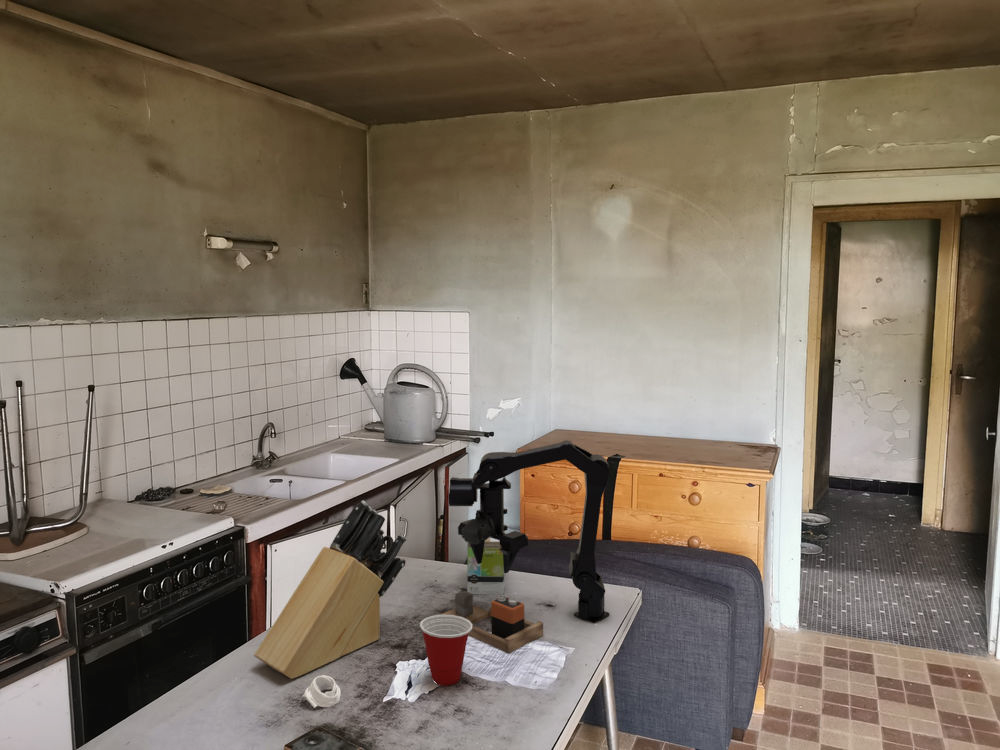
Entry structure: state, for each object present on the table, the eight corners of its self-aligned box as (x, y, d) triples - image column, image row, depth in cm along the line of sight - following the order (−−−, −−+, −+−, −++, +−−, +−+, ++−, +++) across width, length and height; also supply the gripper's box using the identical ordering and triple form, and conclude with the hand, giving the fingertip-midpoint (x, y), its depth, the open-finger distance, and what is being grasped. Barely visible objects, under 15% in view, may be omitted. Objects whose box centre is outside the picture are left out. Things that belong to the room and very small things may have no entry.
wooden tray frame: (470, 605, 191) (469, 582, 191) (543, 635, 175) (543, 610, 174) (435, 620, 183) (435, 596, 182) (508, 653, 166) (508, 627, 166)
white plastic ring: (325, 691, 154) (323, 667, 154) (350, 696, 151) (349, 672, 150) (296, 707, 147) (294, 682, 147) (321, 713, 144) (320, 688, 144)
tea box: (505, 595, 198) (504, 540, 196) (466, 595, 198) (465, 540, 197) (505, 573, 213) (505, 522, 211) (469, 573, 213) (469, 522, 211)
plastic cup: (483, 681, 155) (482, 625, 153) (437, 698, 149) (436, 640, 147) (456, 660, 164) (455, 607, 162) (411, 675, 158) (410, 620, 156)
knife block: (412, 626, 180) (409, 500, 177) (283, 686, 154) (277, 539, 150) (381, 613, 188) (377, 492, 184) (253, 668, 161) (246, 527, 157)
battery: (512, 648, 169) (512, 605, 168) (490, 639, 174) (490, 597, 172) (525, 641, 172) (525, 599, 171) (503, 632, 177) (503, 591, 176)
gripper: (441, 505, 183) (442, 567, 185) (496, 521, 171) (497, 588, 172) (473, 496, 191) (474, 555, 193) (529, 510, 179) (529, 574, 180)
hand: (492, 568), depth 185 cm, fingers open, 9 cm apart
